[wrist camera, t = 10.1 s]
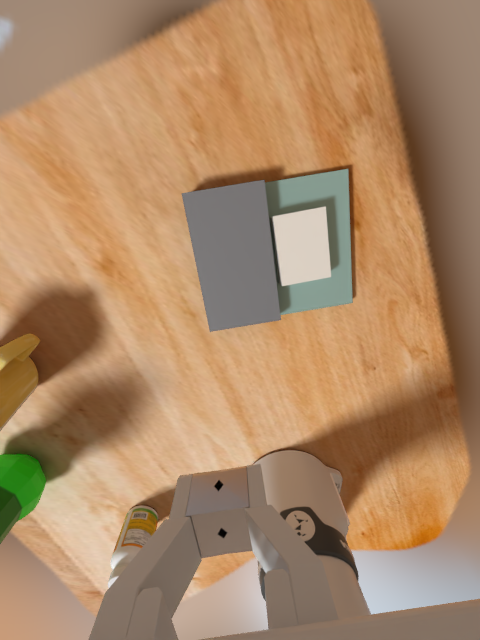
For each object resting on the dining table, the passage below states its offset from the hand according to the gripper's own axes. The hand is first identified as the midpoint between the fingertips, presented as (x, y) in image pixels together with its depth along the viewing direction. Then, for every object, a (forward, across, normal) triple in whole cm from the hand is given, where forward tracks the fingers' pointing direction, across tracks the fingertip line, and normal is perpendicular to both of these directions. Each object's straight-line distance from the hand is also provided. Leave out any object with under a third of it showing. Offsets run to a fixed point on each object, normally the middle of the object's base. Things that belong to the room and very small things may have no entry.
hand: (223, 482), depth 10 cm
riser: (+27, -2, -6) cm, 28 cm away
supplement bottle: (+28, +20, +34) cm, 49 cm away
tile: (+26, -10, -6) cm, 29 cm away
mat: (+27, -11, -6) cm, 30 cm away
